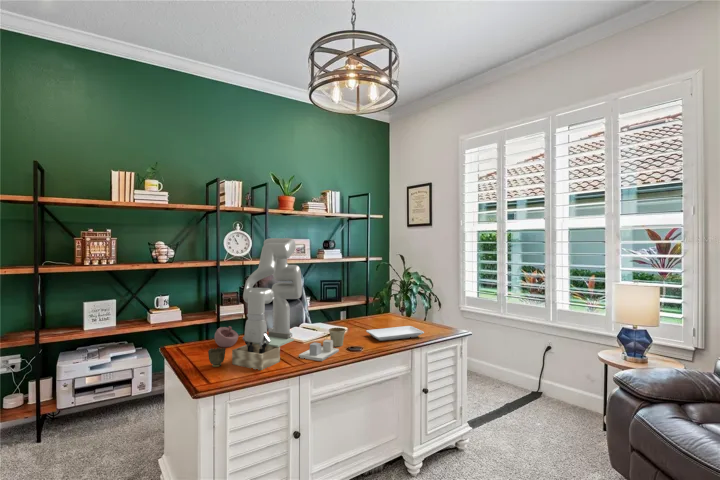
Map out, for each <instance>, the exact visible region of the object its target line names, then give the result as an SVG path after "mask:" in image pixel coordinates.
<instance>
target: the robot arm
mask: <svg viewBox="0 0 720 480" xmlns="http://www.w3.org/2000/svg"><path fill="white" fill-rule="evenodd" d="M296 246H297V245H296V241H295V240H294V239H293V238H290V237H286V238H284V237H283V238H279V237H272V238H271V237H269V238H267V239H264V241H263V246H262V248H261V253H260V257H259V264H258V268H257V269H255V270H254V271H253V272H252V273H251V274H250V275H249V276H248V278H247V279H246V281H245V284H244V289H243V294H242V298H243V300H244V302H245V303H246V304H247V314H246V317H247V320H246V321H245V326H244V336H242V340H243V342H244V343H245V345H247V347H248V352H253V353H254V346H252V345H253V343H259V345H260V348H261V349H259V354H262V353H265V348H266V346H267V345H268V344H269V343H270V339H269V338H268V336H267V335H268V332H269V331H274V332H282V333H289V334H290V338H291V336H292V337H293V333H292V332H290V331H291V330H290V329H291V328H290V327H291V325H290V324H291V322H290V321H291V318H290V317H291V315H290V313H291V312H290V311H291V310H290V309H291V306H290V303H289V301H287V300H298V299H300V298H301V297H302V294H303V286H302V285H303V284H302V283H303V282H302V272H301V268H300V265H297V264H288V259H289V258H290V257H291V256H292V255H293V254H294V253H295V251H296ZM270 276H272V277H273V279H274V280H275V281H277V282H276V283H274V284H272V286H271V288H270V287H254V285H255V284H256V283H257V282H259V281H260V280H263V279H265V278H267V277H270ZM271 302H272V312H273V313H272V321H273V322H272V326H273V327H269V328H268V327H267V321H266V318H265V317H266V316H265V315H266V314H265V313H266V306H265V305H267V304H270V303H271ZM265 341H266V342H265ZM262 344H263V345H262Z"/></svg>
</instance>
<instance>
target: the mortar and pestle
mask: <svg viewBox="0 0 720 480" xmlns="http://www.w3.org/2000/svg"><path fill="white" fill-rule="evenodd" d="M232 328H233V327H232V326H230V325H229V326H228V327H227V326H220V327H219V328H217V329H216V330H215V333H214V342H215V344H217V346H218V347H220V348H222V347H223V348H231V347H233V346H234V345H235V344H236V343H237V342H238V339H239V334H238V332H237V331H235V330H234V329H232Z"/></svg>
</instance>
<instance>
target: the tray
mask: <svg viewBox="0 0 720 480" xmlns="http://www.w3.org/2000/svg"><path fill="white" fill-rule="evenodd" d="M365 331H366V333H367V334H369V335H370V336H372V337H373V338H374V339H376V340H378V341H380V342H382V341H390V340H392V341H393V340H399V339H400V340H401V339H409V338H410V337H411V338H417V337H419V336H421V335H422V334H424V333H425V332H424V330H421V329H419V328H416V327H415V326H412V325H404V326H396V327H395V326H394V327H385V328H375V329H366V330H365Z"/></svg>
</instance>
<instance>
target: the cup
mask: <svg viewBox="0 0 720 480" xmlns="http://www.w3.org/2000/svg"><path fill="white" fill-rule="evenodd" d="M226 351H227V350H226V347H220V346H218V347H216V348H215V347H214V348H210V349H208V350H207V355H208V361H209V362H210V364H211V366H212V367H213V368H219V367H221V366H222V364H223V363H224V361H225V357H226Z"/></svg>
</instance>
